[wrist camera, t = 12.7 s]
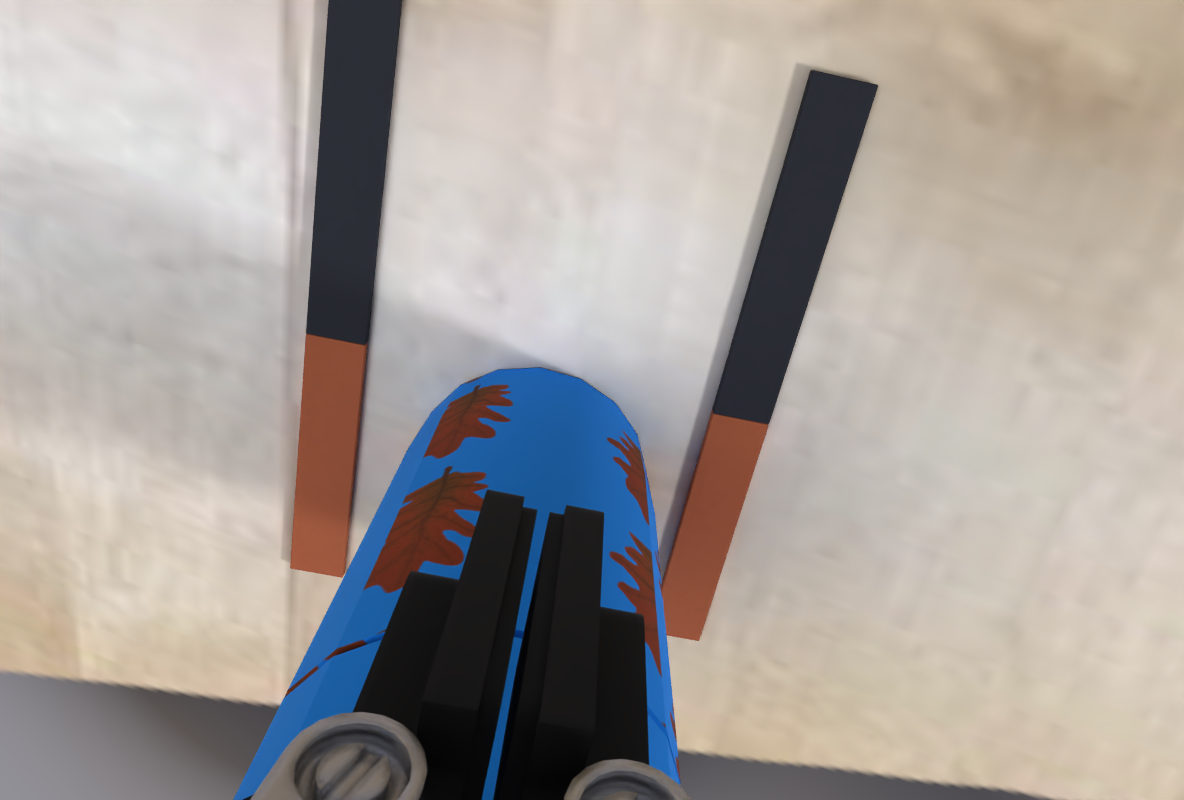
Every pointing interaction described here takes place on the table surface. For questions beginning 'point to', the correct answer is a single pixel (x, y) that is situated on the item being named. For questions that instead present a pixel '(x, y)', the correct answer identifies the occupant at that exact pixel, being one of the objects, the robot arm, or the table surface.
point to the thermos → (446, 525)
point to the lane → (346, 280)
